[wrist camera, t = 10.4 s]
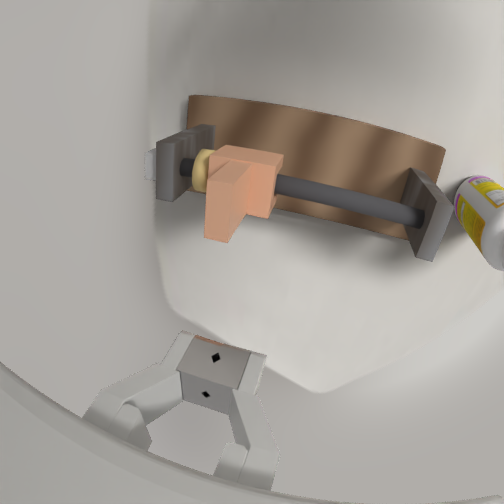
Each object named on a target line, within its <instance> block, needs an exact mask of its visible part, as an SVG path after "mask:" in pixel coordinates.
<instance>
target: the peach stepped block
mask: <svg viewBox="0 0 504 504" xmlns="http://www.w3.org/2000/svg"><path fill="white" fill-rule="evenodd" d="M283 158H284V155H283V154H277V153H272V152H267V151H261V150H255V149H249V148H243V147H237V146H231V145H225V146H223V147H221V148H220V149H218V150H217V151H215V152H214V153H212V154H211V155H210V157H209V171H208V180H207V191H206V208H205V228H204V238H208V239H212V240H216V241H221V242H225V243H228V241H229V240H230V238H231V237H232V235H233V233H234V232H235V230H236V229H237V227H238V226H239V224H240V222H241V221H242V219H243V218H244V216H245V215H246V214H248V215H252V216H257V217H262V218H266V219H268V218H269V216H270V213H271V211H272V209H273V207H274V205H275V203H276V201H277V195H278V194H275V193H274V190H275V184H276V177H277V174H278V172H279V171H280V169H281V167H282V164H283Z"/></svg>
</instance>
